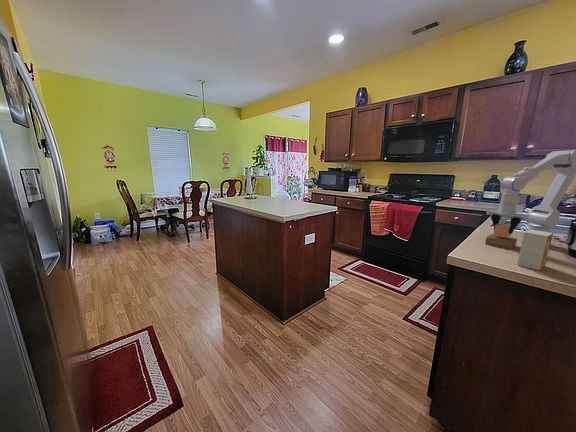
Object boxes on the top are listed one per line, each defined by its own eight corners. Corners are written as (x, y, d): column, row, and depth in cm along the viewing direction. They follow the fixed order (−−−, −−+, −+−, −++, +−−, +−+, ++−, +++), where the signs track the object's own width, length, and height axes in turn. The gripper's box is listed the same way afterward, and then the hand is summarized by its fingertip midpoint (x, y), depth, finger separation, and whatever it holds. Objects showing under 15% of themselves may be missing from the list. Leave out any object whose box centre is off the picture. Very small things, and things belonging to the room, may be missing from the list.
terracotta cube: (497, 233, 115) (499, 223, 114) (511, 235, 111) (513, 225, 110) (493, 234, 112) (495, 224, 111) (506, 237, 108) (509, 226, 107)
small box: (540, 271, 85) (548, 236, 82) (516, 265, 90) (523, 232, 87) (545, 266, 89) (553, 232, 86) (522, 260, 94) (529, 228, 91)
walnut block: (491, 241, 119) (493, 233, 118) (515, 246, 112) (517, 238, 111) (485, 244, 114) (486, 236, 113) (509, 250, 107) (511, 241, 106)
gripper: (485, 201, 113) (480, 229, 115) (526, 206, 100) (520, 237, 103) (492, 200, 116) (487, 227, 119) (532, 205, 104) (526, 234, 107)
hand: (502, 231), depth 111 cm, fingers closed on terracotta cube, 5 cm apart
